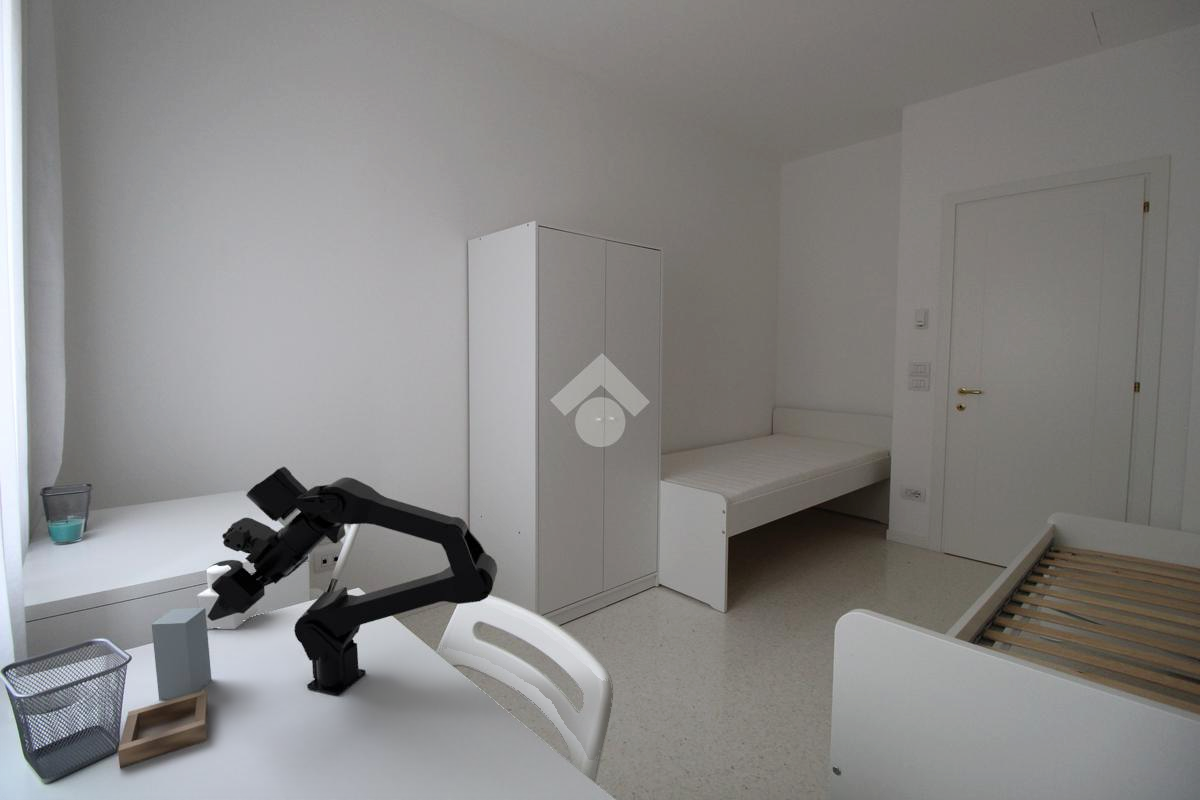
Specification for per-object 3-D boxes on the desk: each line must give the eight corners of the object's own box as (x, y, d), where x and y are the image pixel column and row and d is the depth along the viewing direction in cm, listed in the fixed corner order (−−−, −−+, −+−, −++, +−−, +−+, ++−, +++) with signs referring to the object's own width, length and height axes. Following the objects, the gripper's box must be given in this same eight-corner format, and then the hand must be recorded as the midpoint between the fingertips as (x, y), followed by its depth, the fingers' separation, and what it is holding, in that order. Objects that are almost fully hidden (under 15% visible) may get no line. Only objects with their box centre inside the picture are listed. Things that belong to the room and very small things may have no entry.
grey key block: (211, 679, 94) (205, 607, 93) (192, 698, 90) (185, 622, 88) (180, 680, 94) (173, 609, 93) (159, 699, 89) (151, 624, 88)
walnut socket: (208, 704, 88) (206, 689, 88) (206, 740, 80) (204, 723, 80) (130, 727, 83) (128, 711, 82) (119, 768, 75) (117, 750, 75)
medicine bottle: (224, 612, 118) (219, 556, 116) (258, 612, 118) (253, 556, 116) (199, 629, 111) (193, 570, 109) (234, 630, 110) (230, 571, 109)
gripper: (289, 488, 99) (226, 548, 100) (223, 523, 81) (146, 596, 81) (335, 533, 100) (273, 591, 101) (281, 577, 82) (205, 648, 82)
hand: (228, 604), depth 91 cm, fingers open, 9 cm apart
